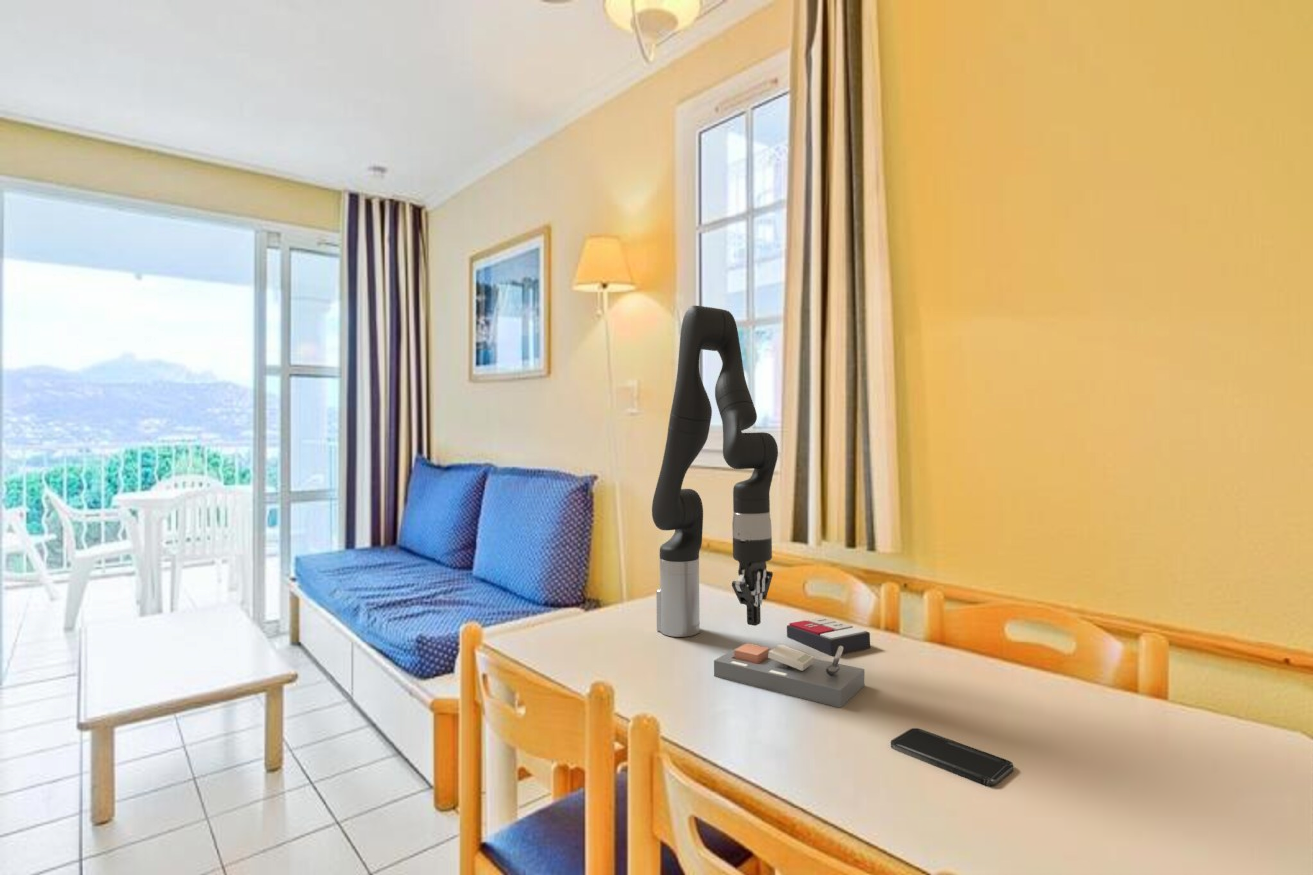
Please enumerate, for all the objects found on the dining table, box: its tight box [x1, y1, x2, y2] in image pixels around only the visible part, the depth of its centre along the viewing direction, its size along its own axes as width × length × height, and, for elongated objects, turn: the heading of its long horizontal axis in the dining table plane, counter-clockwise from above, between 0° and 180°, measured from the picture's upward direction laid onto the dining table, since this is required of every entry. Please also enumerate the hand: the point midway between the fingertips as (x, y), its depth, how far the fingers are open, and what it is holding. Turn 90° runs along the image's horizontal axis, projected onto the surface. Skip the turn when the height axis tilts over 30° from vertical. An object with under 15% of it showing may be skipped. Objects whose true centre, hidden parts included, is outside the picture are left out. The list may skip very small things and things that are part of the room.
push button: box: [733, 642, 771, 664], centre depth 129 cm, size 5×5×3 cm
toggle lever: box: [826, 646, 843, 676], centre depth 119 cm, size 2×2×6 cm
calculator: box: [786, 616, 871, 657], centre depth 146 cm, size 11×4×15 cm
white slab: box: [768, 643, 815, 671], centre depth 124 cm, size 7×5×1 cm
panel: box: [713, 643, 865, 709], centre depth 124 cm, size 25×12×4 cm, turn 53°
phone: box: [890, 727, 1014, 788], centre depth 95 cm, size 8×1×15 cm
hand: (753, 624), depth 129 cm, fingers closed
